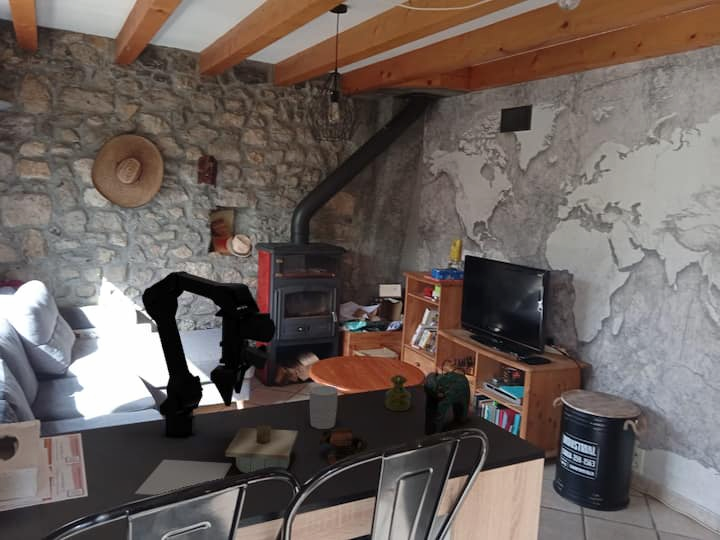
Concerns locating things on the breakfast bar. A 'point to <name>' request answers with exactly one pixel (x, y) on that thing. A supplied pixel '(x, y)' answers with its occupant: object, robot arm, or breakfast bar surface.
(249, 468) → the bowl
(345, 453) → the brown piece
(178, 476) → the mat
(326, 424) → the white cup
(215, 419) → the breakfast bar surface
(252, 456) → the lid
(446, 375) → the green elephant figurine
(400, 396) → the olive green bottle-shaped piece
